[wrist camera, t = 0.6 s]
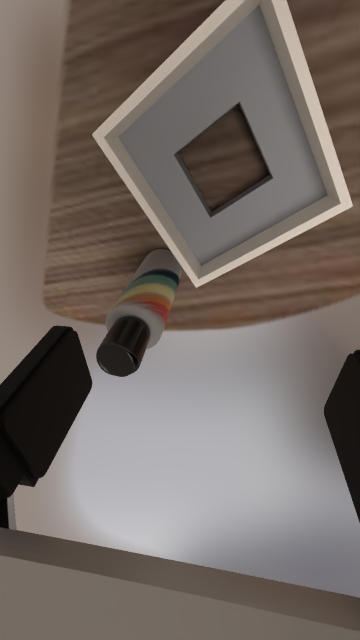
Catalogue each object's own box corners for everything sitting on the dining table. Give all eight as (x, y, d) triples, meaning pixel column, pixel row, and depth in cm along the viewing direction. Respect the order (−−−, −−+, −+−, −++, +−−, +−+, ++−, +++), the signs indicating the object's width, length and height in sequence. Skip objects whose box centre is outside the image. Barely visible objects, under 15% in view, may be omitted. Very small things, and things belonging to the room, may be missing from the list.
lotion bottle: (164, 291, 41) (121, 396, 24) (136, 265, 39) (70, 359, 23) (191, 269, 38) (163, 370, 22) (162, 239, 36) (108, 325, 20)
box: (260, -2, 23) (271, -46, 17) (329, 192, 30) (353, 206, 24) (117, 134, 30) (91, 134, 24) (201, 264, 37) (196, 287, 32)
